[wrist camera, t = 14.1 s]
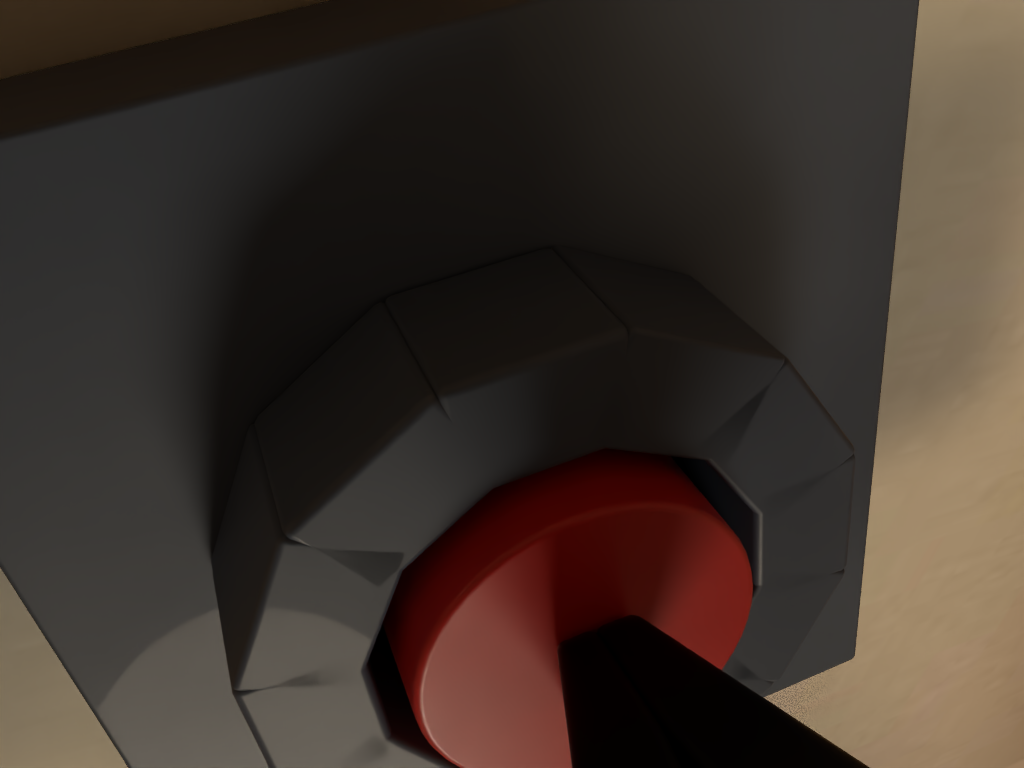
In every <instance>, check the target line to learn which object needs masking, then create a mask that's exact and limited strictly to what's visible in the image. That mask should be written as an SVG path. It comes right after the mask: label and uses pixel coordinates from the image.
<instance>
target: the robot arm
mask: <svg viewBox="0 0 1024 768" xmlns="http://www.w3.org/2000/svg"><path fill="white" fill-rule="evenodd" d="M557 654H558V662H559V670H560V678H561V686H562V693H563V701H564V709H565V717H566V724H567V732H568V740H569V748H570V756H571V763H572V768H869V767H868V766H866V765H865V764H863V763H862V762H860V761H859V760H857V759H856V758H854V757H853V756H851V755H850V754H848V753H847V752H845V751H844V750H842V749H841V748H839V747H838V746H836V745H834V744H833V743H831V742H830V741H828V740H827V739H825V738H824V737H822V736H821V735H819V734H818V733H816V732H815V731H813V730H812V729H810V728H809V727H807V726H806V725H804V724H803V723H801V722H800V721H798V720H797V719H795V718H793V717H792V716H790V715H789V714H787V713H786V712H784V711H783V710H781V709H780V708H778V707H777V706H775V705H774V704H772V703H771V702H769V701H768V700H766V699H765V698H763V697H762V696H760V695H759V694H757V693H756V692H754V691H752V690H751V689H749V688H748V687H746V686H745V685H743V684H742V683H740V682H739V681H737V680H736V679H734V678H733V677H731V676H730V675H728V674H727V673H725V672H724V671H722V670H721V669H719V668H718V667H716V666H715V665H713V664H711V663H710V662H708V661H707V660H705V659H704V658H702V657H701V656H699V655H698V654H696V653H695V652H693V651H692V650H690V649H689V648H687V647H686V646H684V645H683V644H681V643H680V642H678V641H677V640H675V639H674V638H672V637H670V636H669V635H667V634H666V633H664V632H663V631H661V630H660V629H658V628H657V627H655V626H654V625H652V624H651V623H649V622H648V621H646V620H645V619H643V618H641V617H639V616H637V615H628V616H625V617H623V618H620V619H618V620H615V621H613V622H610V623H608V624H605V625H603V626H601V627H600V628H599V629H598V631H597V633H595V632H593V631H588V632H585V633H583V634H580V635H578V636H575V637H573V638H570V639H568V640H565V641H563V642H561V643H560V644H559V645H558V647H557Z"/></svg>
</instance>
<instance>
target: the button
mask: <svg viewBox="0 0 1024 768" xmlns="http://www.w3.org/2000/svg"><path fill="white" fill-rule="evenodd" d="M752 593H753V582H752V571H751V567H750V563H749V559H748V556H747V552H746V550H745V548H744V546H743V544H742V543H741V541H740V539H739V538H738V536H737V535H736V534H735V533H734V531H733V530H732V529H731V528H730V526H729V525H728V524H727V523H726V522H725V521H724V519H723V518H722V517H721V516H720V515H719V513H718V512H717V511H716V510H715V509H714V507H713V506H712V505H711V504H710V503H709V501H708V500H707V499H706V498H705V497H704V495H703V494H702V493H701V492H700V491H699V490H698V488H697V487H696V486H695V485H694V484H693V482H692V481H691V480H690V479H689V478H688V476H687V475H686V474H685V473H684V472H683V470H682V469H681V468H680V467H679V466H678V465H677V463H676V462H675V461H674V460H673V459H672V457H671V456H666V455H658V454H650V453H641V452H633V451H625V450H616V449H608V448H605V449H602V450H599V451H596V452H594V453H591V454H588V455H585V456H582V457H580V458H577V459H574V460H571V461H569V462H566V463H563V464H560V465H558V466H555V467H552V468H549V469H546V470H544V471H541V472H538V473H535V474H533V475H530V476H527V477H524V478H521V479H519V480H516V481H513V482H510V483H508V484H505V485H502V486H499V487H496V488H494V489H492V490H491V491H490V492H489V493H488V494H487V495H486V496H485V497H484V498H482V499H481V500H480V501H479V502H478V503H477V504H476V505H475V506H474V507H472V508H471V509H470V510H469V511H468V512H467V513H466V514H465V515H464V516H462V517H461V518H460V519H459V520H458V521H457V522H456V523H455V524H454V525H453V526H451V527H450V528H449V529H448V530H447V531H446V532H445V533H444V534H443V535H441V536H440V537H439V538H438V539H437V540H436V541H435V542H434V543H433V544H432V545H430V546H429V547H428V548H427V549H426V550H425V551H424V552H423V553H422V554H420V555H419V556H418V557H417V558H416V559H415V560H414V561H413V562H412V563H410V564H409V565H408V566H407V567H406V568H405V569H404V570H403V571H402V573H401V576H400V578H399V581H398V584H397V586H396V589H395V591H394V594H393V597H392V599H391V602H390V605H389V607H388V610H387V612H386V615H385V618H384V620H383V623H382V624H383V627H384V630H385V633H386V636H387V639H388V642H389V644H390V647H391V650H392V653H393V656H394V659H395V662H396V664H397V667H398V670H399V673H400V676H401V679H402V682H403V684H404V687H405V690H406V693H407V696H408V699H409V702H410V705H411V707H412V710H413V713H414V716H415V719H416V721H417V723H418V726H419V728H420V730H421V732H422V734H423V735H424V737H425V738H426V739H427V741H428V742H429V744H430V745H431V746H432V747H433V748H434V749H435V750H436V751H438V752H439V753H440V754H441V755H442V756H443V757H444V758H445V759H447V760H448V761H450V762H452V763H453V764H455V765H457V766H458V767H460V768H572V763H571V756H570V748H569V740H568V732H567V724H566V717H565V709H564V701H563V693H562V686H561V678H560V670H559V662H558V654H557V647H558V645H559V644H560V643H561V642H563V641H565V640H568V639H570V638H573V637H575V636H578V635H580V634H583V633H585V632H588V631H593V632H595V633H597V631H598V629H599V628H600V627H601V626H603V625H605V624H608V623H610V622H613V621H615V620H618V619H620V618H623V617H625V616H628V615H637V616H639V617H641V618H643V619H645V620H646V621H648V622H649V623H651V624H652V625H654V626H655V627H657V628H658V629H660V630H661V631H663V632H664V633H666V634H667V635H669V636H670V637H672V638H674V639H675V640H677V641H678V642H680V643H681V644H683V645H684V646H686V647H687V648H689V649H690V650H692V651H693V652H695V653H696V654H698V655H699V656H701V657H702V658H704V659H705V660H707V661H708V662H710V663H711V664H713V665H715V666H716V667H718V668H719V669H721V670H722V669H723V667H724V666H725V664H726V663H727V661H728V660H729V658H730V656H731V655H732V653H733V652H734V650H735V648H736V646H737V644H738V642H739V640H740V638H741V636H742V633H743V631H744V628H745V626H746V623H747V620H748V616H749V612H750V608H751V604H752Z"/></svg>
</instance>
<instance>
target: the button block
mask: <svg viewBox="0 0 1024 768" xmlns="http://www.w3.org/2000/svg"><path fill="white" fill-rule="evenodd" d="M918 7H919V0H330V1H326V2H322V3H318V4H314V5H310V6H305V7H301V8H297V9H293V10H289V11H285V12H280V13H276V14H272V15H268V16H264V17H260V18H255V19H251V20H247V21H243V22H239V23H235V24H230V25H226V26H222V27H218V28H214V29H210V30H205V31H201V32H197V33H193V34H189V35H185V36H180V37H176V38H172V39H168V40H164V41H160V42H155V43H151V44H147V45H143V46H139V47H135V48H130V49H126V50H122V51H118V52H114V53H110V54H105V55H101V56H97V57H93V58H89V59H85V60H80V61H76V62H72V63H68V64H64V65H60V66H55V67H51V68H47V69H43V70H39V71H35V72H30V73H26V74H22V75H18V76H14V77H10V78H5V79H1V80H0V568H1V569H2V571H3V572H4V574H5V575H6V577H7V579H8V580H9V582H10V583H11V585H12V586H13V588H14V590H15V591H16V593H17V594H18V596H19V597H20V599H21V600H22V602H23V604H24V605H25V607H26V608H27V610H28V611H29V613H30V615H31V616H32V618H33V619H34V621H35V622H36V624H37V625H38V627H39V629H40V630H41V632H42V633H43V635H44V636H45V638H46V640H47V641H48V643H49V644H50V646H51V647H52V649H53V650H54V652H55V654H56V655H57V657H58V658H59V660H60V661H61V663H62V665H63V666H64V668H65V669H66V671H67V672H68V674H69V675H70V677H71V679H72V680H73V682H74V683H75V685H76V686H77V688H78V690H79V691H80V693H81V694H82V696H83V697H84V699H85V700H86V702H87V704H88V705H89V707H90V708H91V710H92V711H93V713H94V715H95V716H96V718H97V719H98V721H99V722H100V724H101V725H102V727H103V729H104V730H105V732H106V733H107V735H108V736H109V738H110V740H111V741H112V743H113V744H114V746H115V747H116V749H117V750H118V752H119V754H120V755H121V757H122V758H123V760H124V761H125V763H126V765H127V766H128V768H460V767H458V766H457V765H455V764H453V763H452V762H450V761H448V760H447V759H445V758H444V757H443V756H442V755H441V754H440V753H439V752H438V751H436V750H435V749H434V748H433V747H432V746H431V745H430V744H429V742H428V741H427V739H426V738H425V737H424V735H423V734H422V732H421V730H420V728H419V726H418V723H417V721H416V719H415V716H414V713H413V710H412V707H411V705H410V702H409V699H408V696H407V693H406V690H405V687H404V684H403V682H402V679H401V676H400V673H399V670H398V667H397V664H396V662H395V659H394V656H393V653H392V650H391V647H390V644H389V642H388V639H387V636H386V633H385V630H384V627H383V624H382V623H383V620H384V618H385V615H386V612H387V610H388V607H389V605H390V602H391V599H392V597H393V594H394V591H395V589H396V586H397V584H398V581H399V578H400V576H401V573H402V571H403V570H404V569H405V568H406V567H407V566H408V565H409V564H410V563H412V562H413V561H414V560H415V559H416V558H417V557H418V556H419V555H420V554H422V553H423V552H424V551H425V550H426V549H427V548H428V547H429V546H430V545H432V544H433V543H434V542H435V541H436V540H437V539H438V538H439V537H440V536H441V535H443V534H444V533H445V532H446V531H447V530H448V529H449V528H450V527H451V526H453V525H454V524H455V523H456V522H457V521H458V520H459V519H460V518H461V517H462V516H464V515H465V514H466V513H467V512H468V511H469V510H470V509H471V508H472V507H474V506H475V505H476V504H477V503H478V502H479V501H480V500H481V499H482V498H484V497H485V496H486V495H487V494H488V493H489V492H490V491H491V490H492V489H494V488H496V487H499V486H502V485H505V484H508V483H510V482H513V481H516V480H519V479H521V478H524V477H527V476H530V475H533V474H535V473H538V472H541V471H544V470H546V469H549V468H552V467H555V466H558V465H560V464H563V463H566V462H569V461H571V460H574V459H577V458H580V457H582V456H585V455H588V454H591V453H594V452H596V451H599V450H602V449H605V448H608V449H616V450H625V451H633V452H641V453H650V454H658V455H666V456H671V457H672V459H673V460H674V461H675V462H676V463H677V465H678V466H679V467H680V468H681V469H682V470H683V472H684V473H685V474H686V475H687V476H688V478H689V479H690V480H691V481H692V482H693V484H694V485H695V486H696V487H697V488H698V490H699V491H700V492H701V493H702V494H703V495H704V497H705V498H706V499H707V500H708V501H709V503H710V504H711V505H712V506H713V507H714V509H715V510H716V511H717V512H718V513H719V515H720V516H721V517H722V518H723V519H724V521H725V522H726V523H727V524H728V525H729V526H730V528H731V529H732V530H733V531H734V533H735V534H736V535H737V536H738V538H739V539H740V541H741V543H742V544H743V546H744V548H745V550H746V552H747V556H748V559H749V563H750V567H751V571H752V582H753V593H752V604H751V608H750V612H749V616H748V620H747V623H746V626H745V628H744V631H743V633H742V636H741V638H740V640H739V642H738V644H737V646H736V648H735V650H734V652H733V653H732V655H731V656H730V658H729V660H728V661H727V663H726V664H725V666H724V667H723V669H722V671H724V672H725V673H727V674H728V675H730V676H731V677H733V678H734V679H736V680H737V681H739V682H740V683H742V684H743V685H745V686H746V687H748V688H749V689H751V690H752V691H754V692H756V693H757V694H759V695H760V696H762V697H766V696H768V695H770V694H773V693H775V692H777V691H780V690H782V689H784V688H786V687H789V686H791V685H793V684H796V683H798V682H800V681H803V680H805V679H807V678H809V677H812V676H814V675H816V674H819V673H821V672H823V671H826V670H828V669H830V668H832V667H835V666H837V665H839V664H842V663H844V662H846V661H849V660H851V659H852V658H853V657H854V656H855V647H856V637H857V627H858V617H859V607H860V596H861V586H862V576H863V566H864V556H865V546H866V535H867V525H868V515H869V505H870V495H871V485H872V474H873V464H874V454H875V444H876V434H877V424H878V413H879V403H880V393H881V383H882V373H883V363H884V352H885V342H886V332H887V322H888V312H889V301H890V291H891V281H892V271H893V261H894V251H895V240H896V230H897V220H898V210H899V200H900V190H901V179H902V169H903V159H904V149H905V139H906V129H907V118H908V108H909V98H910V88H911V78H912V68H913V57H914V47H915V37H916V27H917V17H918Z"/></svg>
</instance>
